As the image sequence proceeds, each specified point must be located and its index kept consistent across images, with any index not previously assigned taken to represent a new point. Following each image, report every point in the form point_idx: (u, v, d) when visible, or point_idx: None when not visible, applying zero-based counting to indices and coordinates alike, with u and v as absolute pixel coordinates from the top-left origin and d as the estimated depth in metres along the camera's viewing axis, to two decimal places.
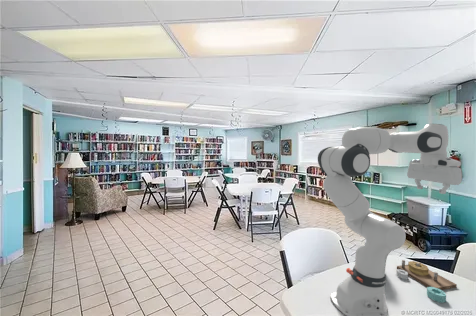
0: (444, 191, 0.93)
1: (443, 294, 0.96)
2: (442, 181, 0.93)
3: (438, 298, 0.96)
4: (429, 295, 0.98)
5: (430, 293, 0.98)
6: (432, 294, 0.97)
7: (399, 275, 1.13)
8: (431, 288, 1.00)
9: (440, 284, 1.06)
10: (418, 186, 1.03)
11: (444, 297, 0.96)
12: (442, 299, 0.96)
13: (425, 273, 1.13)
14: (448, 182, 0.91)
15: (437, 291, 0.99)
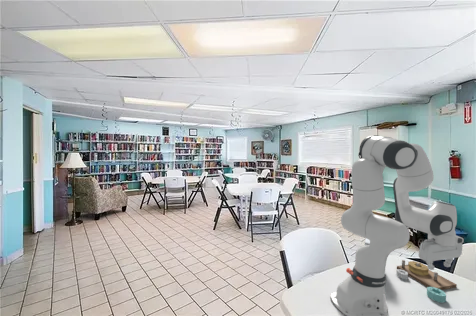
0: None
1: (443, 294, 0.96)
2: (453, 256, 0.97)
3: (438, 298, 0.96)
4: (429, 295, 0.98)
5: (430, 293, 0.98)
6: (432, 294, 0.97)
7: (399, 275, 1.13)
8: (431, 288, 1.00)
9: (440, 284, 1.06)
10: (433, 267, 0.96)
11: (444, 297, 0.96)
12: (442, 299, 0.96)
13: (425, 273, 1.13)
14: (457, 256, 0.97)
15: (437, 291, 0.99)
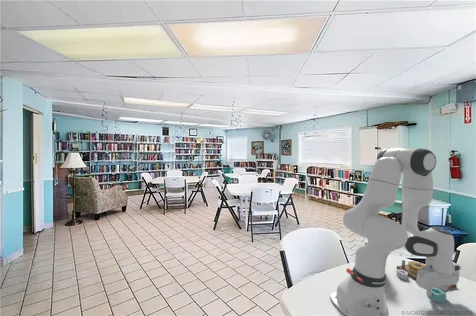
0: None
1: (443, 294, 0.96)
2: (451, 283, 0.98)
3: (438, 298, 0.96)
4: None
5: None
6: None
7: (399, 275, 1.13)
8: None
9: None
10: (432, 293, 0.97)
11: (444, 297, 0.96)
12: (442, 299, 0.96)
13: None
14: (454, 282, 0.98)
15: (437, 291, 0.99)
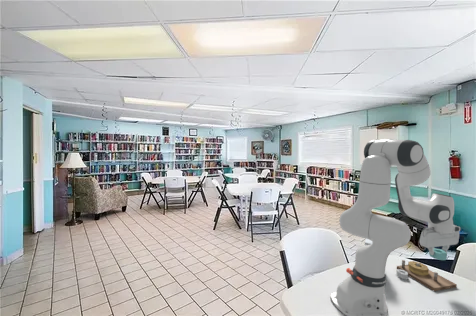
0: None
1: (444, 253, 1.06)
2: (451, 243, 1.07)
3: (440, 256, 1.05)
4: None
5: None
6: None
7: (399, 275, 1.13)
8: (433, 249, 1.10)
9: (440, 284, 1.06)
10: (434, 252, 1.06)
11: (445, 255, 1.05)
12: (443, 257, 1.05)
13: (425, 273, 1.13)
14: (454, 243, 1.07)
15: (439, 251, 1.09)
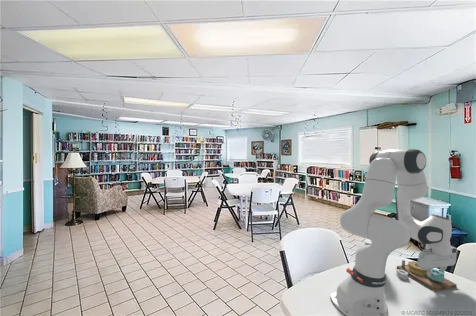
0: None
1: (442, 274, 1.07)
2: (448, 264, 1.08)
3: (437, 278, 1.06)
4: None
5: None
6: None
7: (399, 275, 1.13)
8: None
9: (440, 284, 1.06)
10: (432, 274, 1.07)
11: (442, 277, 1.06)
12: (441, 278, 1.06)
13: (425, 273, 1.13)
14: (452, 264, 1.09)
15: None
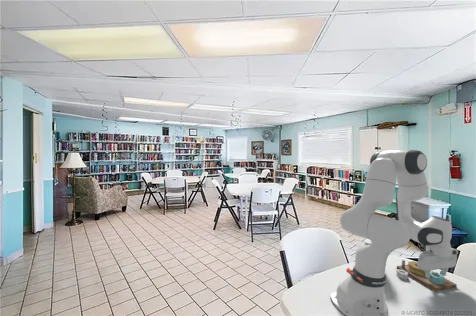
0: None
1: (442, 277, 1.07)
2: (449, 266, 1.08)
3: (437, 280, 1.06)
4: (429, 278, 1.09)
5: None
6: (432, 277, 1.07)
7: (399, 275, 1.13)
8: (431, 272, 1.11)
9: None
10: (430, 276, 1.07)
11: (442, 279, 1.06)
12: (441, 281, 1.06)
13: None
14: (452, 266, 1.08)
15: None
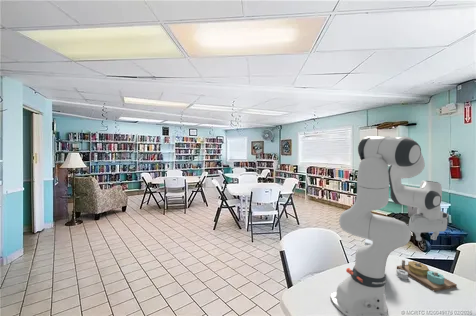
0: None
1: (442, 277, 1.07)
2: (439, 230, 1.10)
3: (437, 280, 1.06)
4: (429, 278, 1.09)
5: (430, 276, 1.08)
6: (432, 277, 1.07)
7: (399, 275, 1.13)
8: (431, 272, 1.11)
9: None
10: (421, 238, 1.09)
11: (442, 279, 1.06)
12: (441, 281, 1.06)
13: (425, 273, 1.13)
14: (442, 230, 1.10)
15: None
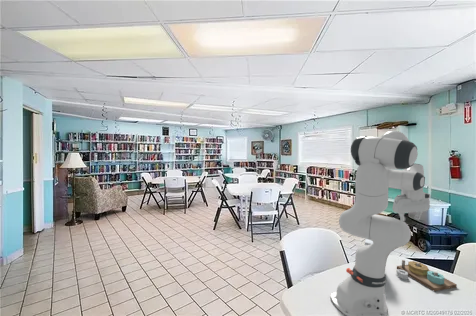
0: None
1: (442, 277, 1.07)
2: (422, 210, 1.14)
3: (437, 280, 1.06)
4: (429, 278, 1.09)
5: (430, 276, 1.08)
6: (432, 277, 1.07)
7: (399, 275, 1.13)
8: (431, 272, 1.11)
9: None
10: (404, 218, 1.13)
11: (442, 279, 1.06)
12: (441, 281, 1.06)
13: (425, 273, 1.13)
14: (425, 210, 1.15)
15: None
